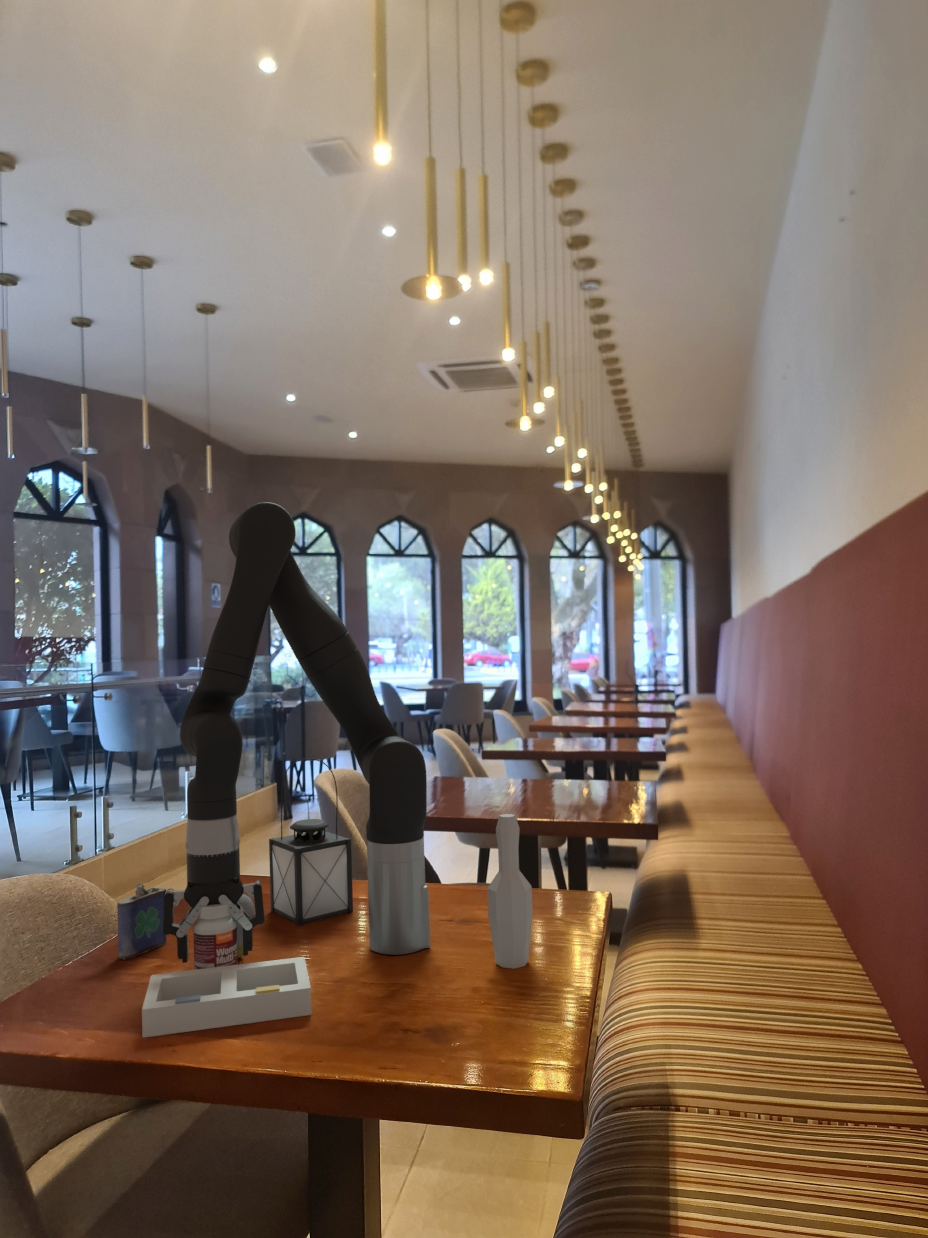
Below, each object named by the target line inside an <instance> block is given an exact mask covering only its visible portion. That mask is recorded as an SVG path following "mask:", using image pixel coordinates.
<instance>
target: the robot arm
mask: <svg viewBox="0 0 928 1238" xmlns="http://www.w3.org/2000/svg"><path fill="white" fill-rule="evenodd" d="M296 533H297V532H296V525H295V522H294V520H293V517H292V516H291V514H290V512H288V511H287V509H285V508H284V507H283V506H281V505H279V504H277V503H274V502H270V501H269V502H268V501H263V502H258V503H255V504H253V505H251V506H248V507H247V508H246V509H244V510H243V512H241V513H240V515H239V516H237V518H236V519H235V520H234V522H233V523H232V524H231V526H230V530H229V534H228V543H229V546H230V550H231V552H232V554H233V556H234V557H235V565H234V571H233V576H232V580H231V583H230V585H229V586H230V587H229V589H228V590H229V591H228V594H227V597H226V599H225V602H224V605H223V607H222V609H221V612H220V614H219V616H218V619H217V622H216V625H215V627H214V630H213V633H212V636H211V638H210V641H209V645H208V649H207V652H206V655H205V660H204V664H203V666H202V667H203V668H202V669H201V670H202V671H201V676H200V679H199V682H198V684H197V686H196V688H195V690H194V692H193V694H192V696H191V698H190V700H189V702H188V704H187V706H186V709H185V711H184V714H183V716H182V720H181V724H180V729H179V740H180V744H181V746H182V748H183V749H184V750H185V751H186V752H187V754H189V755H191V756H193V757H196V759H195V775H194V777H193V778H192V779H191V780H190V781H189V782H188V785H187V789H186V790H187V791H186V798H187V799H186V800H187V801H186V803H187V804H186V806H187V822H186V823H187V824H186V832H185V833H186V835H185V838H186V839H185V841H186V842H185V849H186V851H185V852H186V887H185V889H184V890H183V889H181V890H180V889H179V890H178V889H177V890H176V889H173V888H168V889H166V894H165V898H164V922H163V932H164V934H166V936H168V935H171V936H174V937H175V938H176V945H177V946H176V947H177V948H176V949H177V950H176V951H177V952H176V954H177V955H176V956H177V957H178V959H179V960H182V961H181V962H182V964H185V963H186V964H187V963H188V962H189V937H188V936H189V934H188V931H189V929H190V928H191V927H192V926H194V924H195V922H196V921H197V920H198V919H199V918H198V916H199V915H200V913H201V908H202V907H206V905H214V904H222V905H227V906H228V912H229V913H230V914H231V915H232V916H233V917H234V918H235V920H237V921H238V922H239V923H240V924H241V925H242V927H243V956H242V957H245V956H249V952H251V951H252V950H253V947H254V946H253V931H254V928H255V927H256V926H259V925H261V926H262V925H263V924H264V923H265V911H264V910H265V909H264V899H263V898H264V896H263V887H262V881H261V880H259V879H256V880H255V881H253V882H251V883H244V884H243V882H242V880H241V868H240V867H241V863H240V862H241V861H240V844H241V843H240V842H241V839H240V829H239V827H240V826H239V823H238V811H237V810H238V808H237V807H238V806H237V781H238V777H239V772H240V768H241V767H240V765H241V760H242V756H243V755H242V753H243V735H242V734H243V733H242V730H241V725H240V724H239V723H238V721H237V720H236V718H234V716H232V715H231V713H232V710H233V708H234V705H235V702H237V700H238V699H239V698H242V697H243V696H244V695H245V693H246V691H247V689H248V686H249V684H250V679H251V676H252V671H253V667H254V664H255V661H256V660H255V659H256V655H257V651H258V648H259V644H260V639H261V636H262V631H263V628H264V622H265V618H266V615H267V612H268V609H269V608H270V610H271V612H272V614H273V616H274V618H275V620H276V622H277V624H278V626H279V628H280V629H281V632H282V634H283V636H284V637H285V639H286V641H287V643H288V644H289V646H290V649H291V650H292V652H293V655H294V656H295V658H296V659H297V662H298V664H299V665H300V667H301V669H302V670H303V672H304V674H305V675H306V677H307V679H308V680H309V682H310V683H311V685H312V687H313V688H314V689H315V691H316V693H317V695H318V696H319V697H320V699H321V700H322V701H323V704H324V705H325V706H326V707H327V708H328V710H329V712H330V713H331V715H333V717H334V718H335V719H336V721H337V722H338V725H339V726H340V727H341V729H342V731H343V733H344V735H345V737H346V739H347V741H348V743H349V746H350V747H351V750H352V752H353V754H354V757H355V759H356V761H357V764H358V766H359V769H360V771H361V774H362V776H363V778H364V780H365V781H366V782H367V784H368V785H369V786H368V787H369V793H368V794H369V814H368V819H367V822H366V824H365V825H366V827H365V832H366V857H367V858H366V861H367V862H366V866H367V867H366V868H367V869H366V870H367V897H368V899H367V900H368V901H367V903H368V904H367V905H368V937H369V939H368V940H369V949H370V950H372V951H373V952H375V953H376V954H377V953H378V954H382V955H389V956H392V955H396V956H397V955H407V954H412V953H415V952H418V951H420V950H424V949H428V948H431V932H430V931H431V930H430V926H431V925H430V899H429V898H430V895H429V886H428V885H427V884H426V867H425V864H426V863H425V862H426V861H425V839H424V838H425V823H426V820H427V810H428V809H427V807H428V806H427V803H428V797H427V795H428V794H427V793H428V792H427V791H428V790H427V786H428V785H427V766H426V762H425V761H426V760H425V757H424V755H423V753H422V751H421V750H420V749H419V747H417V745H415V744H414V743H412V742H410V741H408V740H406V739H405V738H403V737H402V735H401V734H400V733H399V732H398V730H397V729H396V727H395V726H394V724H393V723H392V722H391V720H390V718H389V717H388V716H387V714H386V713H385V711H384V710H383V708H382V706H381V704H380V702H379V700H378V698H377V695H376V692H375V687H374V685H373V683H372V682H373V681H372V679H371V677H370V673H369V670H368V668H367V665H366V663H365V660H364V657H363V655H362V653H361V652H360V649H359V648H358V646H357V643H356V642H355V640H354V639H353V637H352V635H351V634H350V632H349V630H348V628H347V626H345V623H344V622H343V621H342V620H341V618H340V617H339V616H338V614H337V613H336V612H335V611H334V609H332V607H331V606H330V605H329V604H328V603H327V602H326V601H325V600H324V599H323V598H322V597H321V596H320V595H319V594H318V593H317V592H316V591H315V590H314V589H313V587H312V586H311V585H310V584H309V583H308V581H307V579H306V577H305V576H304V575H303V573H302V571H301V568H300V567H299V565H298V563H297V561H296V559H295V557H294V554H293V553H292V551H291V550H292V549H293V546H294V544H295V541H296ZM244 893H246V894H247V896H248V897H249V898H250V899H251V900H254V915H253V916H251V917H249V915H248V914H247V913H246V912H245V911H244V909H243V908H242V906H241V905H240V904H239V903H238V901H239V899H240V898H241V896H242V895H243V894H244ZM182 899H184V901H185V902H186V903H187V905H189V906H190V908H189V909H188V911H187V913H186V914H185V916H184V917H183V919H182V920H181V922H180V923H179V924H178V923H174V918H175V917H174V914H175V913H174V911H175V907H178V906H179V904H180V901H181V900H182Z"/></svg>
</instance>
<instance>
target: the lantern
mask: <svg viewBox="0 0 928 1238" xmlns="http://www.w3.org/2000/svg"><path fill="white" fill-rule="evenodd" d="M305 760H314V761H317V762H320V763H322V764H323V765H324V766H325V767H327V768H328V770H329V771H330V772H331V775H332V778H333V780H334V787H335V793H336V795H335V796H336V798H335V799H336V800H335V801H336V804H335V805H336V809H335V810H336V814H335V815H336V816H335V817H336V818H335V833H332V832H329V831H326V828H328V827H329V826H330V824H329V823H328V822H326V821H325V820H323V819H320V818H319V819H318V818H307V819H301V820H296V821H295V822H293V823H292V824H291V825H289V829H290V830H292V831H293V834H291V835H287V836H283V787H284V782H285V778H286V774H287V772H288V771H289V769H290V768H291V767H292V766H293V765H294V764H296V763H298V762H300V761H305ZM337 787H338V786H337V781H336V777H335V775H334V773H333V771H332V769H331V768H330V767H329V765H327V764H326V763H325V762H323V761H322V760H320V759H318V758H310V757H307V758H305V757H304V758H301V759H298V760H296V761H294V762H292V763H291V764H290V765H289V766H288V768H286V769H285V772H284V775H283V778H282V782H281V792H280V830H281V831H280V833H281V834H280V835H281V836H280V837H274V838H269V839H268V853H269V855H268V857H269V858H268V859H269V884H270V885H269V891H270V895H269V896H270V912H271V913H274V914H275V915H278V916H280V917H281V918H283V919H286V920H288V921H289V922H291V923H294V924H295V926H302V925H305V924H309V923H313V922H319V921H321V920H326V919H329V918H333V917H338V916H342V915H345V914H351V913H354V902H353V900H354V899H353V897H354V896H353V892H354V891H353V865H352V864H353V863H352V861H353V860H352V859H353V858H352V857H353V856H352V855H353V854H352V838H348V837H344V836H342V835H338V807H339V806H338V805H339V804H338V803H339V801H338V788H337Z"/></svg>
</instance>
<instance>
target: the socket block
mask: <svg viewBox="0 0 928 1238" xmlns="http://www.w3.org/2000/svg"><path fill="white" fill-rule="evenodd" d="M307 967H308V966H307V963H306V958H305V956H299V957H291V958H281V959H275V960H274V959H273V960H265V961H257V962H256V961H255V962H250V963H249V962H248V963H239V964H238V965H230V966H222V967H213V968H205V969H197V970H194V969H189V970H181V971H172V972H166V973H157V974H156V973H155V974H150V979H149V983H148V986H147V990H146V993H145V996H144V997H145V998H144V1000H143V1003H142V1009H141V1025H142V1026H141V1027H142V1029H141V1032H142V1033H141V1034H142V1038H144V1039H145V1038H151V1037H158V1036H165V1035H172V1034H174V1035H175V1034H179V1033H186V1032H187V1033H188V1032H194V1031H201V1030H210V1029H215V1028H217V1029H219V1028H225V1027H231V1026H238V1025H245V1024H254V1023H260V1022H261V1023H262V1022H267V1021H269V1022H271V1021H277V1020H284V1019H290V1018H291V1019H292V1018H297V1017H305V1016H312V987H311V983H310V978H309V972H308V968H307Z"/></svg>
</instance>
